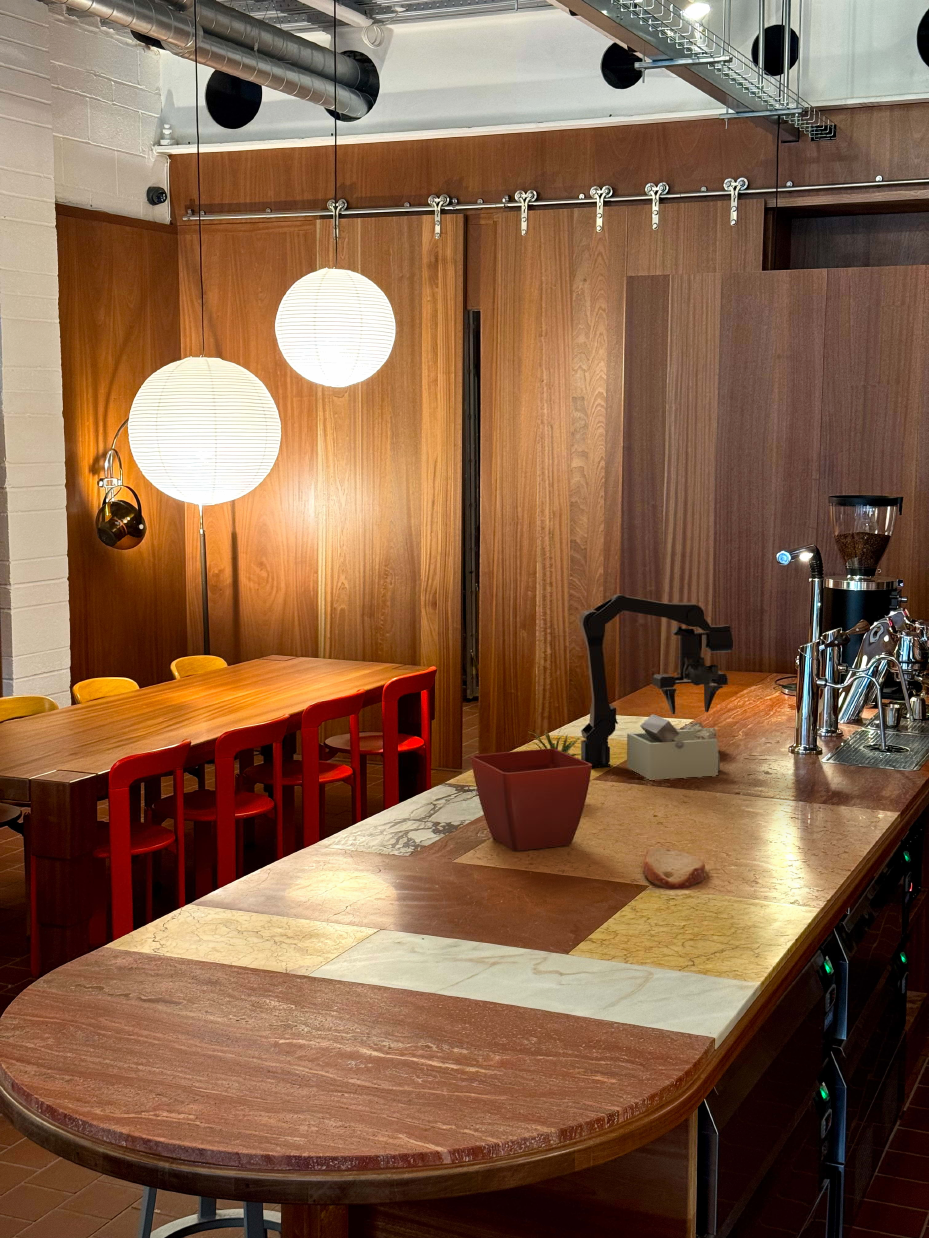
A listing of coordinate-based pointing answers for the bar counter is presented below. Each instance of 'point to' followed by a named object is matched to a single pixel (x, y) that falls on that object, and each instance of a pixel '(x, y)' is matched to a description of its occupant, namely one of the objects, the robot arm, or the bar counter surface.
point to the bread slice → (672, 868)
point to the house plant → (552, 745)
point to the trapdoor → (659, 729)
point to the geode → (700, 731)
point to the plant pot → (532, 796)
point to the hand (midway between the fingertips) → (690, 713)
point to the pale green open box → (672, 756)
